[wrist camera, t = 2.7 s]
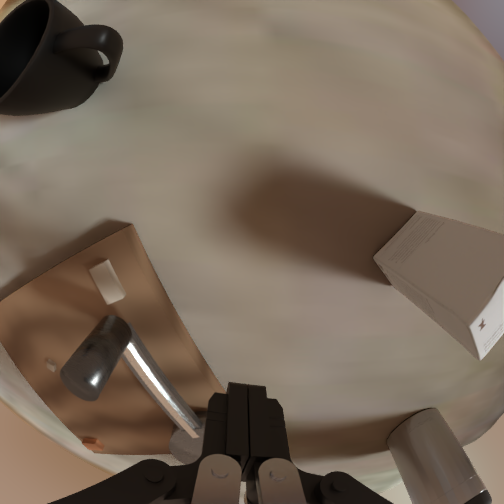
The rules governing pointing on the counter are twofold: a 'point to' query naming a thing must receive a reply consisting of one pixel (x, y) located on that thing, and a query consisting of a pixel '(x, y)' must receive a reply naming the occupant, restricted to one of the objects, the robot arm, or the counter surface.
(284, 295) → the counter surface
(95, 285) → the board
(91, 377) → the crank handle
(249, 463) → the robot arm
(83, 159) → the counter surface
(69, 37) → the mug
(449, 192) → the counter surface
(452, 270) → the skincare box
